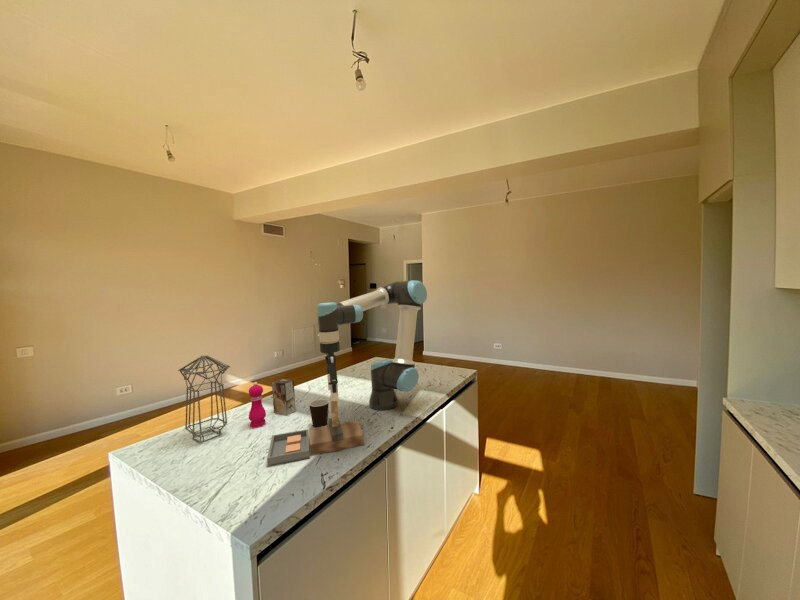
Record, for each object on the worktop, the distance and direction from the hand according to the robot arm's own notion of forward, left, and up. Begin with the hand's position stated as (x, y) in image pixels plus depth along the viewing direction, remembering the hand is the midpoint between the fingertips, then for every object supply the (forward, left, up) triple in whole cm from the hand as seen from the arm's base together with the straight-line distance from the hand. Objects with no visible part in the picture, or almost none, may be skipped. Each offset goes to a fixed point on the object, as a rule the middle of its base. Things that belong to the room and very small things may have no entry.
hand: (333, 394), depth 121 cm
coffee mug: (+4, -20, -19) cm, 28 cm away
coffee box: (+21, -41, -19) cm, 50 cm away
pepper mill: (+32, -30, -19) cm, 48 cm away
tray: (+17, 0, -19) cm, 26 cm away
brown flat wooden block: (0, 0, -19) cm, 19 cm away
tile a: (+16, -3, -16) cm, 23 cm away
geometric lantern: (+51, -27, -19) cm, 61 cm away
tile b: (+16, +4, -16) cm, 23 cm away
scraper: (0, 0, -15) cm, 15 cm away
